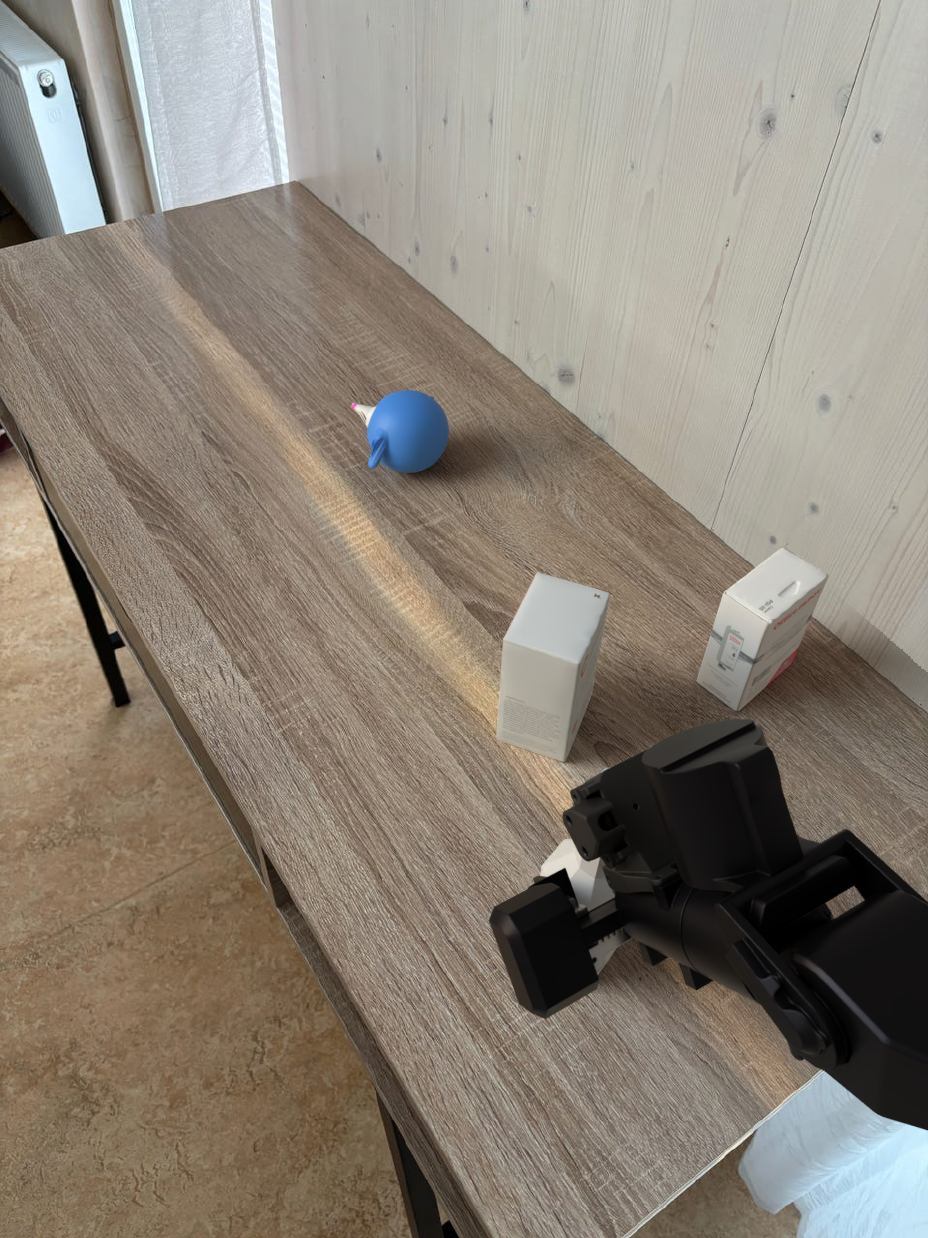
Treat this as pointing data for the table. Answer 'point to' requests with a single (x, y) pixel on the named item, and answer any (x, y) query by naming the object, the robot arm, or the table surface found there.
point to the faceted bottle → (581, 876)
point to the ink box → (760, 627)
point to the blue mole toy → (405, 431)
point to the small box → (550, 665)
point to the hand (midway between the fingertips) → (581, 861)
